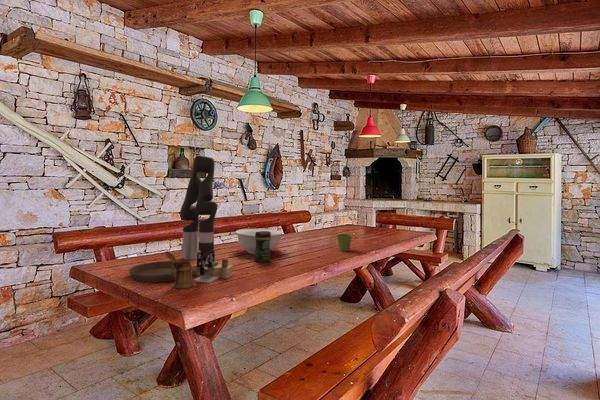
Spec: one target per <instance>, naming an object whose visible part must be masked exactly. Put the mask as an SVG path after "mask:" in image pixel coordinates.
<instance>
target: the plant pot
mask: <svg viewBox="0 0 600 400" xmlns="http://www.w3.org/2000/svg"><path fill="white" fill-rule="evenodd" d="M335 236H336V238H337V242H338V250H339V251H340V252H350V249H351V243H352V239H353V236H354V235H352V234H347V233H341V234H338V233H337V234H336V235H335Z"/></svg>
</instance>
